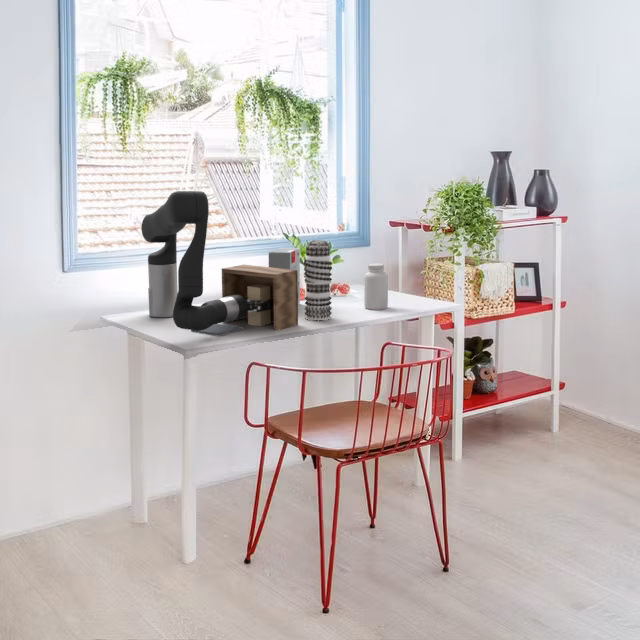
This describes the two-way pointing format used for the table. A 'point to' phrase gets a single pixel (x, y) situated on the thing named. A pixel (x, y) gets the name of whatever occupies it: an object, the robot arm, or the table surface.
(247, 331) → the table surface
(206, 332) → the mat
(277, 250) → the hard drive box
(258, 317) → the block
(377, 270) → the pill bottle
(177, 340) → the table surface
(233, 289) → the cubby
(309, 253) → the decorative candle
